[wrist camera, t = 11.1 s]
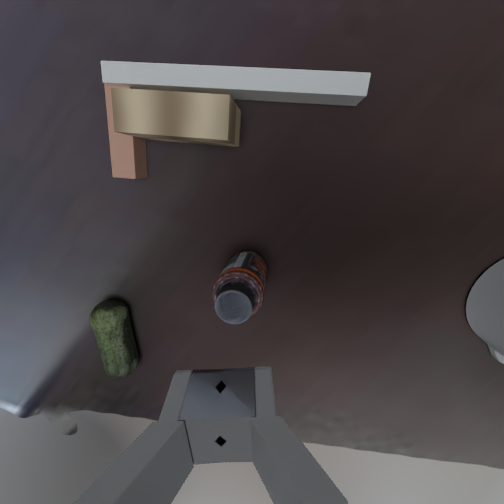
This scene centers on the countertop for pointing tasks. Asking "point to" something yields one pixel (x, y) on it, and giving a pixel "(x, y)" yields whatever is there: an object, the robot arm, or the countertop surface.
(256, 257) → the supplement bottle
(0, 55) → the countertop surface
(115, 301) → the vegetable
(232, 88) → the board
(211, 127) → the long beige block
